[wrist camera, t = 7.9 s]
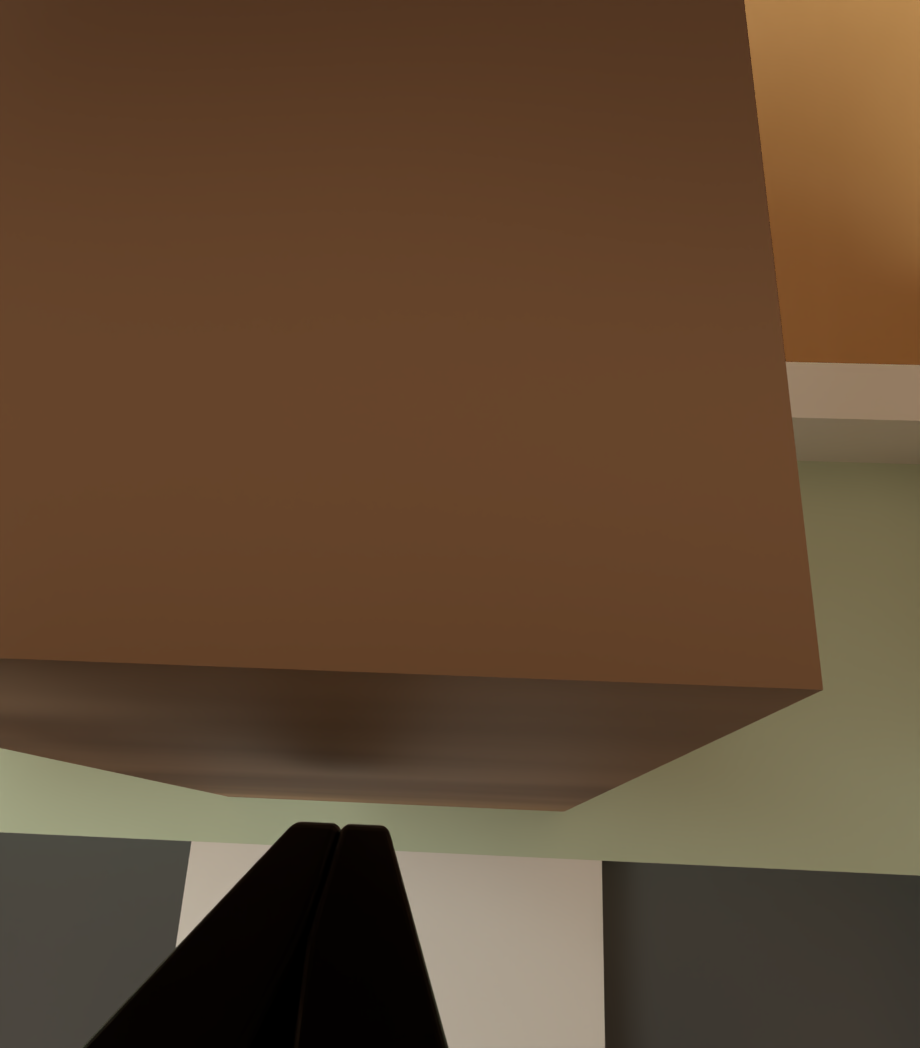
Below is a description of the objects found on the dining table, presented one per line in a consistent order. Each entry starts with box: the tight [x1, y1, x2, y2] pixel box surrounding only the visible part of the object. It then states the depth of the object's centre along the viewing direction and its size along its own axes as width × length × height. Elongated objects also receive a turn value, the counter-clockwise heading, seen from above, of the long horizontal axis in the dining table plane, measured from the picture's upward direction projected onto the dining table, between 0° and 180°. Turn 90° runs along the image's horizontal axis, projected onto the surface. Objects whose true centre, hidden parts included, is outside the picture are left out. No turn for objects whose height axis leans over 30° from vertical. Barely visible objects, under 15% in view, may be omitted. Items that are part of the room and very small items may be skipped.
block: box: [0, 0, 823, 812], centre depth 9 cm, size 5×5×10 cm
